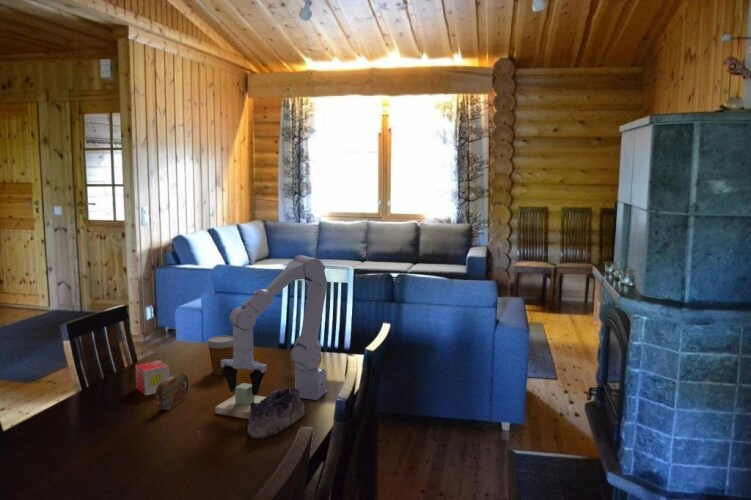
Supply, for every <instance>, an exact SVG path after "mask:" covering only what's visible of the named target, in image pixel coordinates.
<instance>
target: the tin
mask: <svg viewBox="0 0 751 500" xmlns="http://www.w3.org/2000/svg"><path fill="white" fill-rule="evenodd" d="M188 391H189V379H188V376H187V375H186V374H185V373H174V374H172V375H170V377H169V378H167V379H166V380H164V381H163V382H161V383H160V384H159V385H158V387H157V389H156V393H154V397H155V403H156V405H155V406H156V407H157V409H159V410H164V411H170V410H172V409H173V408H174V407H176V406H177V405H178V404H180V403H181V402H183V401H184V400H185V398H186V397H187V395H188Z"/></svg>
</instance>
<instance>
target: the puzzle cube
mask: <svg viewBox="0 0 751 500" xmlns="http://www.w3.org/2000/svg"><path fill="white" fill-rule="evenodd" d="M170 374H171V373H170V365H168V364H166V363H165V362H163V361H162V360H155V361H150V362H145V363H139V364H135V386H136V387H135V388H137V390H138V391H139V392H140V391H141V392H142V393H141V392H140V393H141V394H142V395H144V396H149V395H153V394H154V395H155V393H156V389H157V387H158V385H159V384H160V383H161V382H163V381H164V380H166V379H167V378H169V377H170V376H171V375H170Z"/></svg>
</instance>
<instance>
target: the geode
mask: <svg viewBox="0 0 751 500" xmlns="http://www.w3.org/2000/svg"><path fill="white" fill-rule="evenodd" d="M299 396H300V391H299V390H298V389H295V387H294V388H291V389H289V388H284V389H277V388H276V390H274V391H272V393H270V395H269V396H266V397H267V398H265V399H263V400H261V402H260V403H254V402H252V403H251V405H250V407H251V415H250V416H249V419H248V425H247V430H246V431H247V435H248V436H249V438H250V439H253V440H262V439H267V438H271V437H275V436H276V435H277V434H279V433H280V432H282V431H283V430H284V429H285V430H286V428H288V427H290V425H293V424H294V423H296V422H297V421H299V420H300V419H301V418H302V417H303V416H305V414H306V413H305V409H306V408H305V403H304V401H303V400H301V398H299Z"/></svg>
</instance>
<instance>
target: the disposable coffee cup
mask: <svg viewBox="0 0 751 500" xmlns="http://www.w3.org/2000/svg"><path fill="white" fill-rule="evenodd" d="M206 344H207V346H208V349H209V350H208V351H209V357H210V363H211V364H210V365H211V369H212V374H214V375H218V376H224V375H223V373H222V370H223V369H224V367H221V360H223V359H234V354H233V335H232V336H231V335H216V336H212V337H209V338H208V341H207V343H206Z"/></svg>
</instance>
